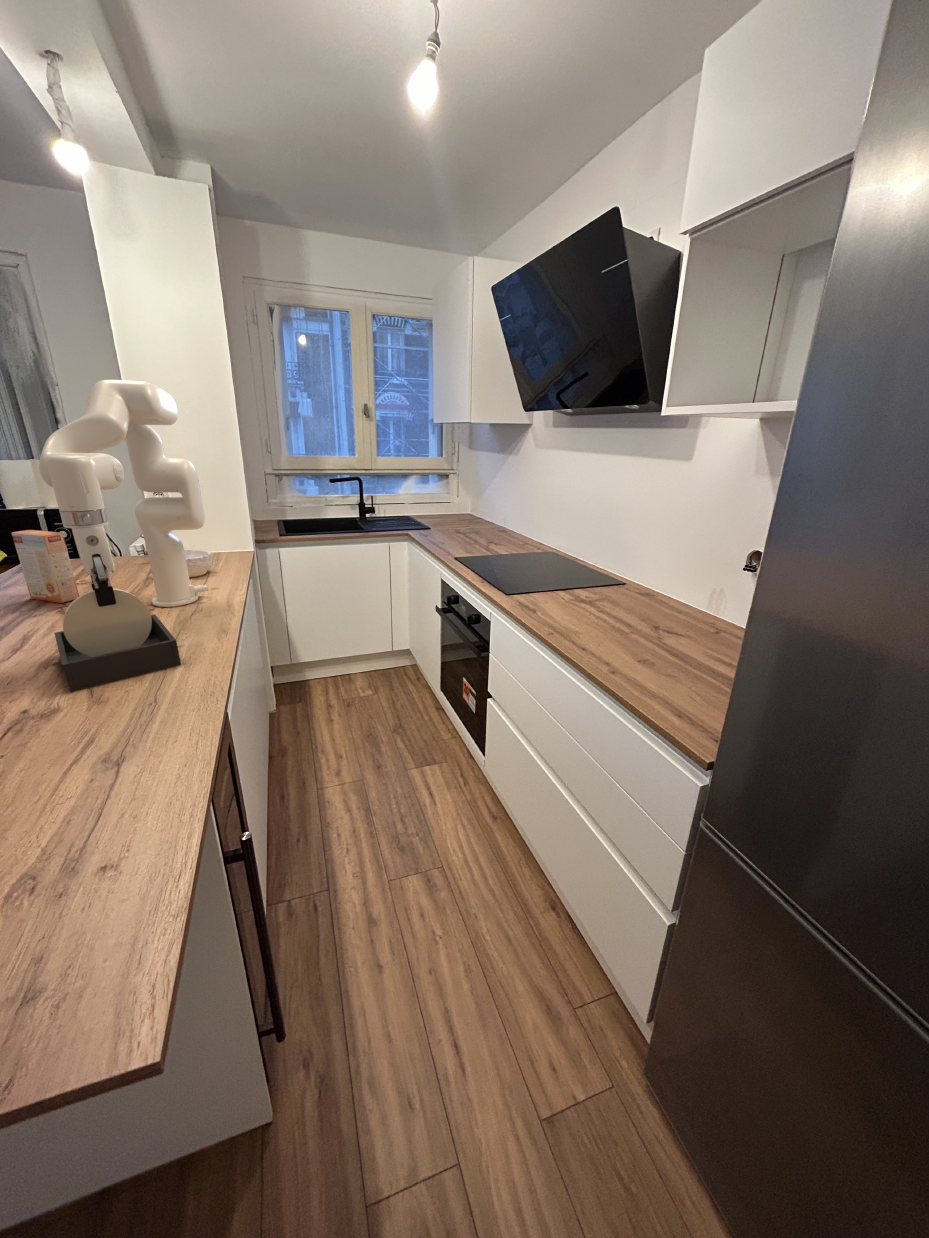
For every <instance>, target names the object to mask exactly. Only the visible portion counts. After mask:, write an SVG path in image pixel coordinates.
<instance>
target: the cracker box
mask: <svg viewBox="0 0 929 1238" xmlns="http://www.w3.org/2000/svg"><path fill="white" fill-rule="evenodd" d="M11 537H12V540H13V543H14V546H15V550H16V553H17V556H18V560H19V563H20V566H21V570H22V574H23V577H24V580H25V584H26V587H27V591H28V593H29V597H30V599H33V600H39V601H45V602H51V603H58V604H64V603H67V602H73V601H74V600H75V599H76V598H78V597H79V596H80V595H79V590H78V586H77V583H76V578H75V575H74V571H73V570H74V569H73V567H72V563H71V559H70V555H69V552H68V548H67V544H66V540H65V535H64V533H63V532H56V531H47V530H38V529H37V530H36V529H25V530H19V531H18V530H17V531H13V532H11Z"/></svg>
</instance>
